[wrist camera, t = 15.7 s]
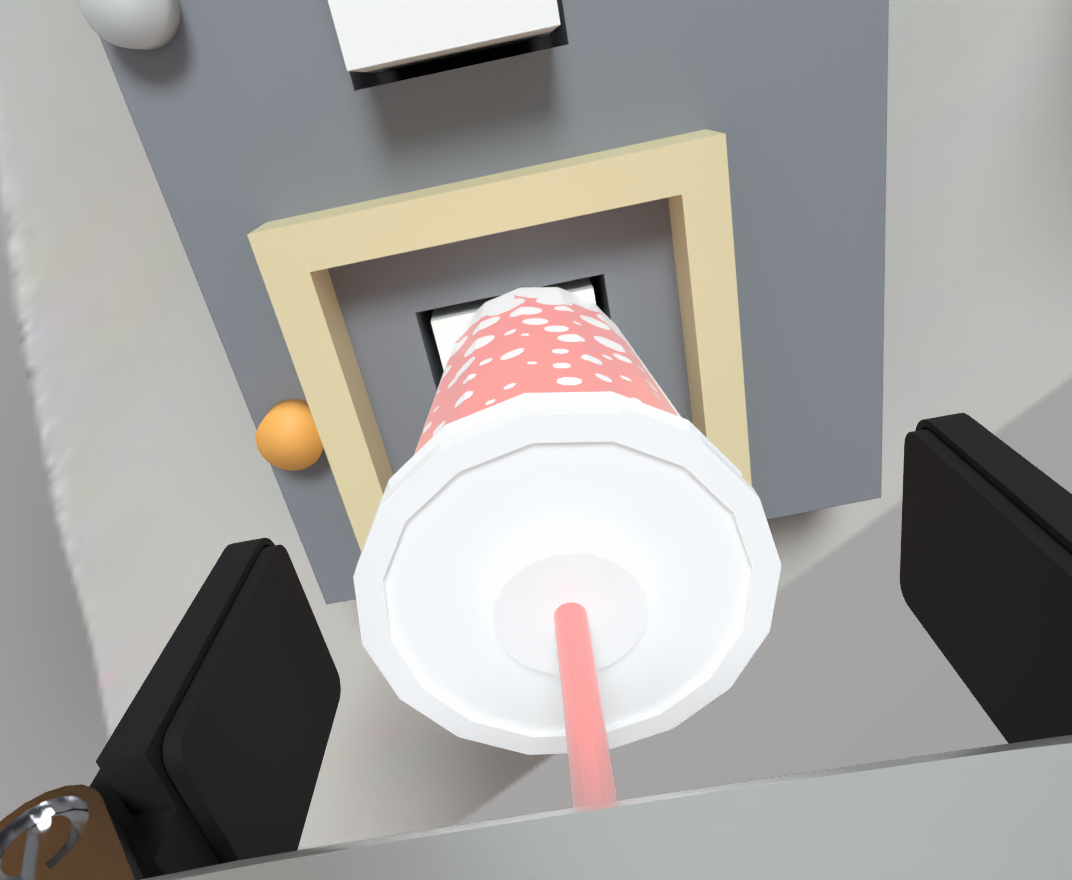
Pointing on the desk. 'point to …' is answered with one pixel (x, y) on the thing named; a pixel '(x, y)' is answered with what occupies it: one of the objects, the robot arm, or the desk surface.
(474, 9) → the block
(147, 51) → the gray panel board
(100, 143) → the desk surface
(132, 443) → the desk surface
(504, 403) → the beverage cup
